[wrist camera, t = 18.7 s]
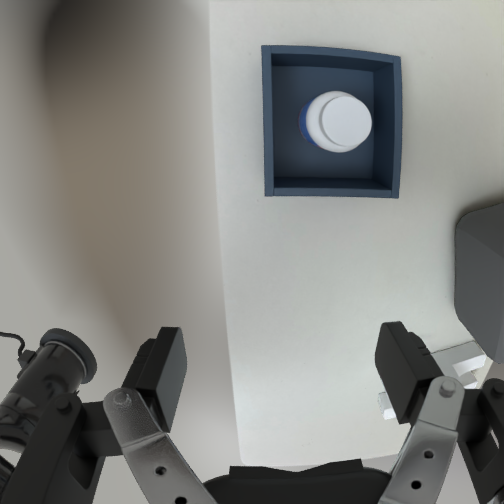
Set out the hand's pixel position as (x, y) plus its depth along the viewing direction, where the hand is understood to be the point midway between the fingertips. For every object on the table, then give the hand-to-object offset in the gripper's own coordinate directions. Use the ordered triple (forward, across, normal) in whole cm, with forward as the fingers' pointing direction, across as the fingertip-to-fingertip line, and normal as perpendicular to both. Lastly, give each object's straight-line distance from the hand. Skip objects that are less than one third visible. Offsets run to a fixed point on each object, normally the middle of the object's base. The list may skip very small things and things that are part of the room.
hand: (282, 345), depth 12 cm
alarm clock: (+25, -30, +7) cm, 39 cm away
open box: (+24, -6, -9) cm, 27 cm away
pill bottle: (+24, -6, -9) cm, 26 cm away
